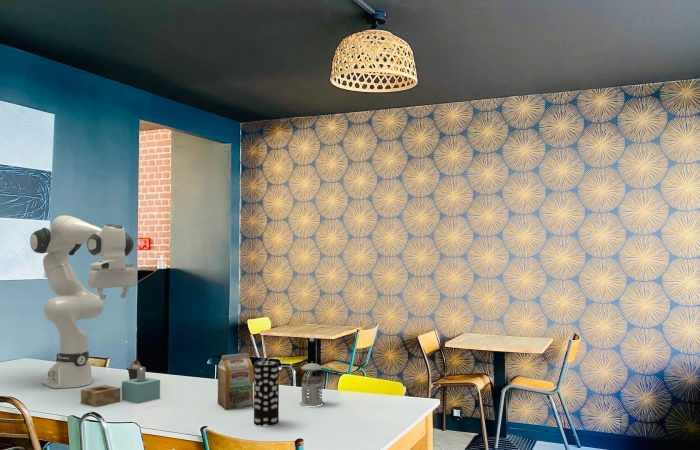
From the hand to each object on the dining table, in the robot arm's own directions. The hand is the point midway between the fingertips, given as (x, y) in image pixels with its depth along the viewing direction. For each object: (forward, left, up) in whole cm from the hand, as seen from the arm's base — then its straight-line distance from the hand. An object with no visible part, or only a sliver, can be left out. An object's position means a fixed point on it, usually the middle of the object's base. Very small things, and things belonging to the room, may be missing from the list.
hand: (113, 298), depth 245 cm
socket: (+8, -10, -39) cm, 41 cm away
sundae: (+1, +10, -39) cm, 41 cm away
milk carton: (+50, +19, -39) cm, 66 cm away
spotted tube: (+76, +8, -39) cm, 86 cm away
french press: (+73, +36, -39) cm, 90 cm away
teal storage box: (+16, +2, -39) cm, 42 cm away
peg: (+16, +2, -38) cm, 41 cm away
